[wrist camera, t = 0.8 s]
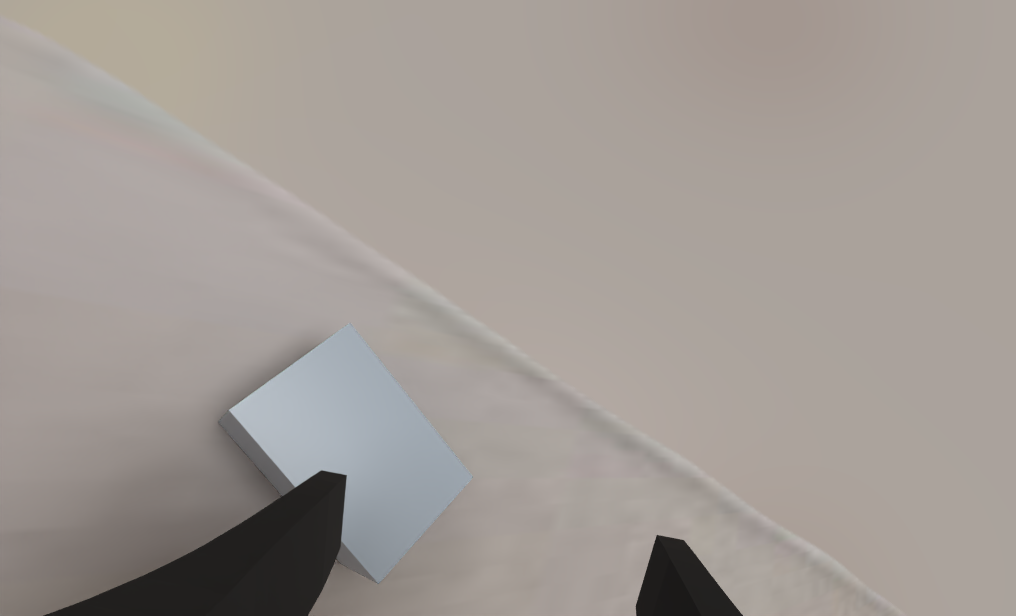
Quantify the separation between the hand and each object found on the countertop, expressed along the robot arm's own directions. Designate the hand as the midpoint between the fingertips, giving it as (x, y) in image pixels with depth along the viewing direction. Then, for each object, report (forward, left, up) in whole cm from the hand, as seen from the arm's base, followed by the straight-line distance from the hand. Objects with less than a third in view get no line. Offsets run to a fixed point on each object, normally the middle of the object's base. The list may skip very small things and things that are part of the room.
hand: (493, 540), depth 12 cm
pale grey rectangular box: (+2, +2, -17) cm, 17 cm away
